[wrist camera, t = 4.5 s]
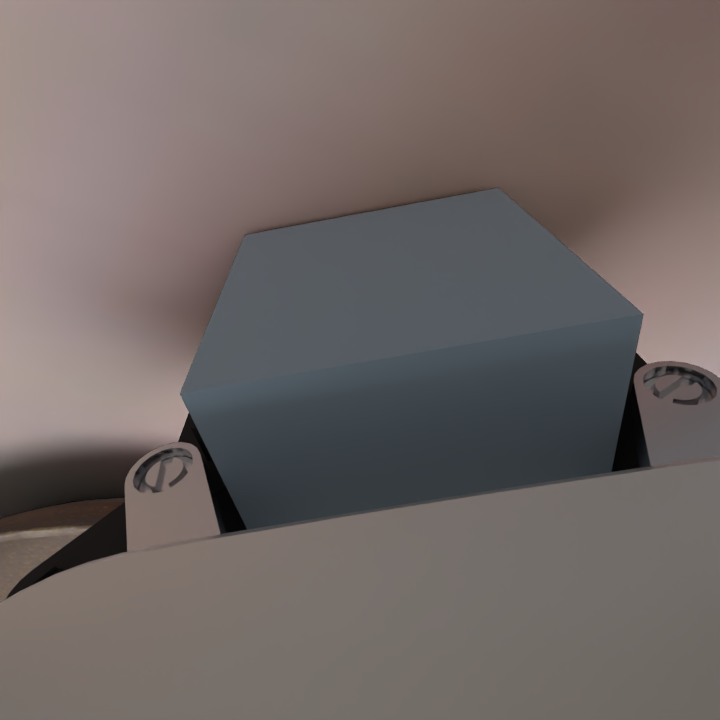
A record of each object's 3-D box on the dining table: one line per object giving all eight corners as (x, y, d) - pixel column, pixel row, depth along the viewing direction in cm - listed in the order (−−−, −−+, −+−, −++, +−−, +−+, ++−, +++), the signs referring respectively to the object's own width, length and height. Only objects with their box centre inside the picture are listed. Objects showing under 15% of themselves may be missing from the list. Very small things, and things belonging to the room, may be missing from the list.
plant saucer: (481, 620, 23) (503, 698, 20) (180, 739, 29) (165, 812, 26) (152, 332, 13) (107, 411, 10) (-216, 603, 19) (-308, 701, 16)
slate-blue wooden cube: (498, 187, 11) (643, 314, 6) (498, 389, 14) (589, 576, 9) (244, 235, 11) (180, 393, 6) (303, 421, 15) (292, 620, 10)
